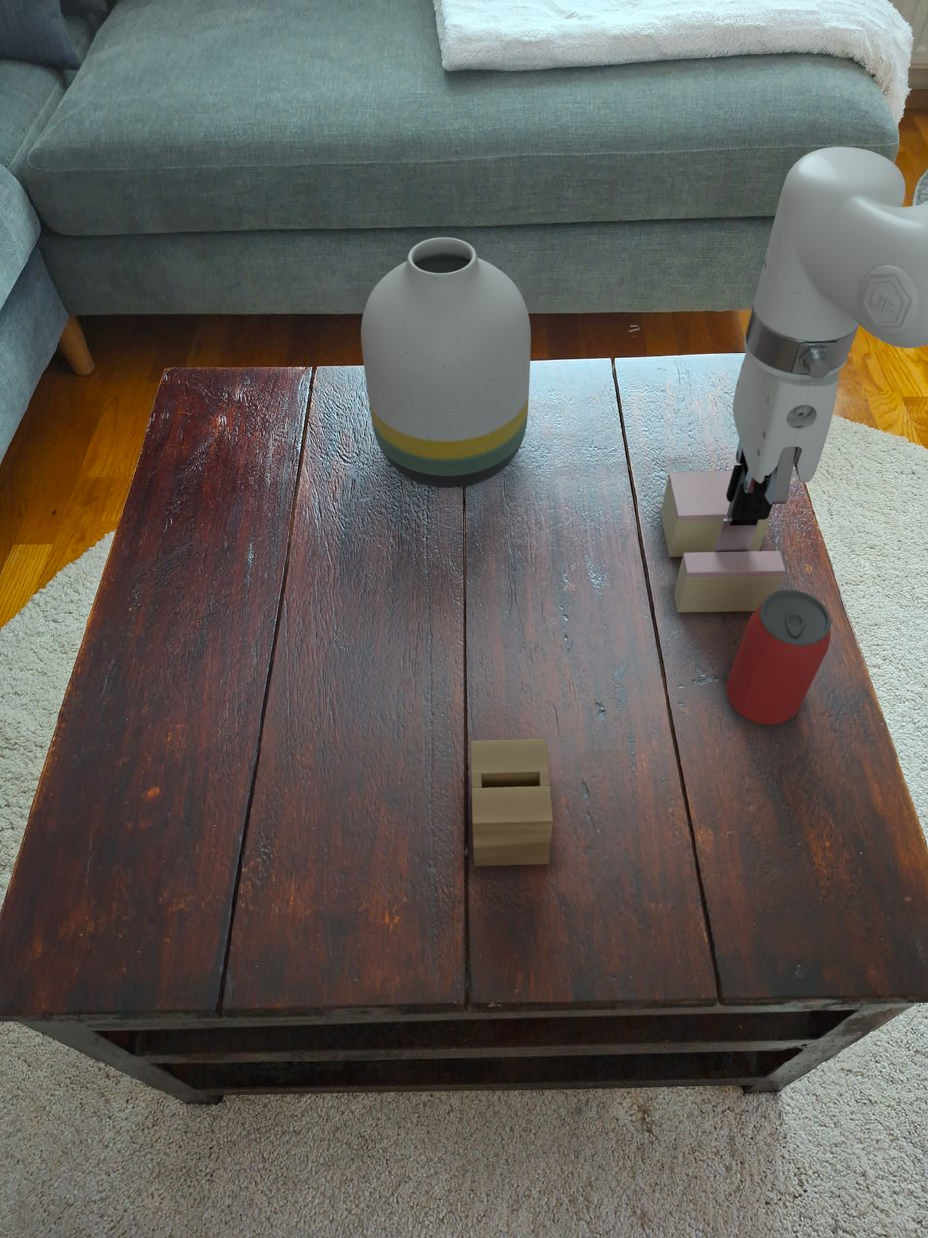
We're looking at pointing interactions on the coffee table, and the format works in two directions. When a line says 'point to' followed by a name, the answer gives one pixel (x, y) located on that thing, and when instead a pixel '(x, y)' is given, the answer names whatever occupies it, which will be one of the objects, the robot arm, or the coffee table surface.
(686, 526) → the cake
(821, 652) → the beer can
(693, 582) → the cake slice
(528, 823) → the knife block
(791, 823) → the coffee table surface
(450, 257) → the vase
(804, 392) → the robot arm
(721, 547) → the knife
